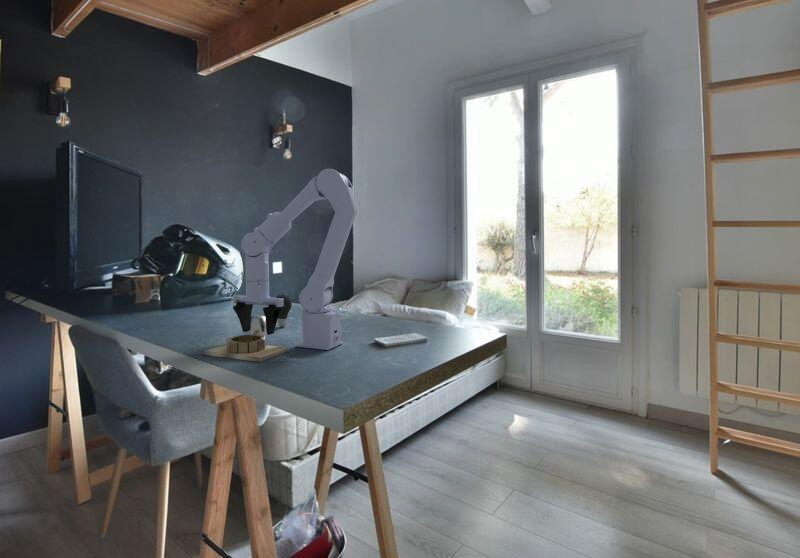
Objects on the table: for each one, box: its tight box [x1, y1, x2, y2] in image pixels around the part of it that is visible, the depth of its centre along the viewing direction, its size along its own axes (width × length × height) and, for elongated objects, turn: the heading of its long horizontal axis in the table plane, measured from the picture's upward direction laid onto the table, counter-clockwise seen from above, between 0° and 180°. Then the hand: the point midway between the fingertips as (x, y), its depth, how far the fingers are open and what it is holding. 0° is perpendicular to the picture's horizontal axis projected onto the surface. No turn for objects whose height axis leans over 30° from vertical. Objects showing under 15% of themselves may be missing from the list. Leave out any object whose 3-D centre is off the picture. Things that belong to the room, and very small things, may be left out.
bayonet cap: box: [250, 314, 268, 344], centre depth 119 cm, size 5×4×7 cm
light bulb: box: [274, 294, 293, 328], centre depth 140 cm, size 6×6×10 cm
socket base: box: [203, 334, 288, 363], centre depth 109 cm, size 16×10×4 cm, turn 69°
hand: (258, 332), depth 119 cm, fingers open, 7 cm apart
